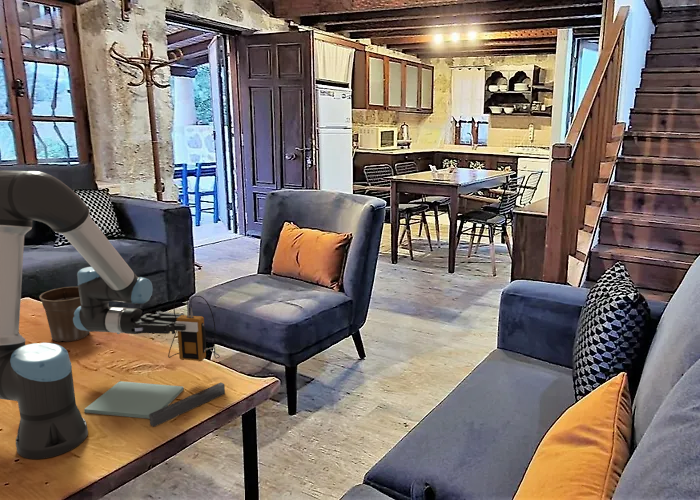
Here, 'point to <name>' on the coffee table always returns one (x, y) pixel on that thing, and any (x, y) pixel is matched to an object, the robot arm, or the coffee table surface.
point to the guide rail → (186, 404)
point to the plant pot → (62, 313)
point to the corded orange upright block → (192, 337)
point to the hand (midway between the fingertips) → (199, 325)
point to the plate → (134, 399)
